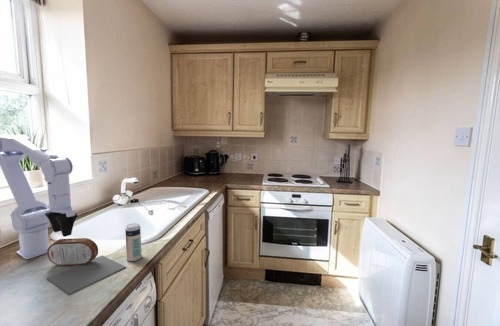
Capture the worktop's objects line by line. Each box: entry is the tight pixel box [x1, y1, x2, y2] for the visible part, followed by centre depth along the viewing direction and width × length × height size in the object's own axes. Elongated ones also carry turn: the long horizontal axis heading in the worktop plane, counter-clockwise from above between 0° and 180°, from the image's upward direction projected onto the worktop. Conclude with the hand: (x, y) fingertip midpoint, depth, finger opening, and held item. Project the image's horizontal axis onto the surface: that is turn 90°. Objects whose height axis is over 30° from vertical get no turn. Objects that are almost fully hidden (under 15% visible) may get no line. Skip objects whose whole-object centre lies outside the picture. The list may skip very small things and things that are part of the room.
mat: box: [46, 255, 127, 296], centre depth 75 cm, size 14×16×1 cm
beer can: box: [124, 223, 142, 262], centre depth 84 cm, size 5×5×12 cm
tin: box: [46, 237, 99, 267], centre depth 79 cm, size 15×3×8 cm, turn 92°
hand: (62, 233), depth 82 cm, fingers open, 6 cm apart
